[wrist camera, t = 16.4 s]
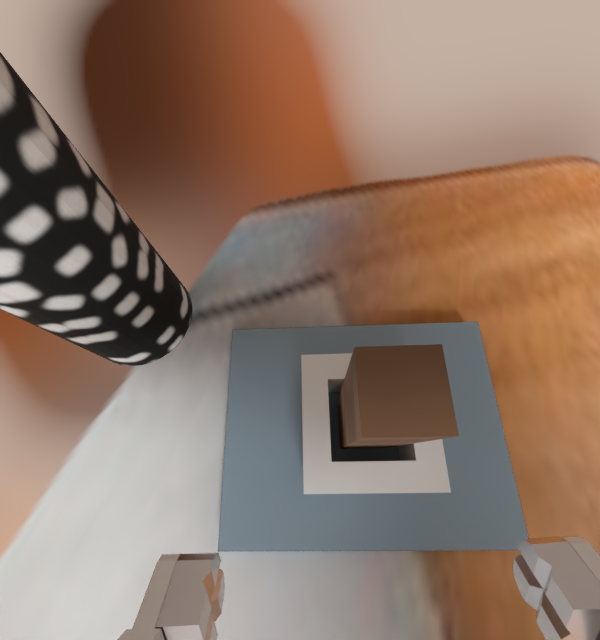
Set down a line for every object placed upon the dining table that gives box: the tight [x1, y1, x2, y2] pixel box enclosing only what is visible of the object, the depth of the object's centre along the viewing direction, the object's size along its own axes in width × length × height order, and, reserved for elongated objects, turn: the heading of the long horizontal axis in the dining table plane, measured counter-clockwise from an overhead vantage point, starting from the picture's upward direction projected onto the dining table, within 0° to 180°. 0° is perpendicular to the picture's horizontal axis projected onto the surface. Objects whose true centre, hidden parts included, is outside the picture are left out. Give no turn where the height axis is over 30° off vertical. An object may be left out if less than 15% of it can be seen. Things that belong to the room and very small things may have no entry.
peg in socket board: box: [218, 322, 529, 551], centre depth 21 cm, size 14×18×6 cm
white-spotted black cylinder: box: [0, 53, 192, 366], centre depth 18 cm, size 8×8×20 cm
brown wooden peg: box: [337, 344, 459, 449], centre depth 17 cm, size 3×3×12 cm
